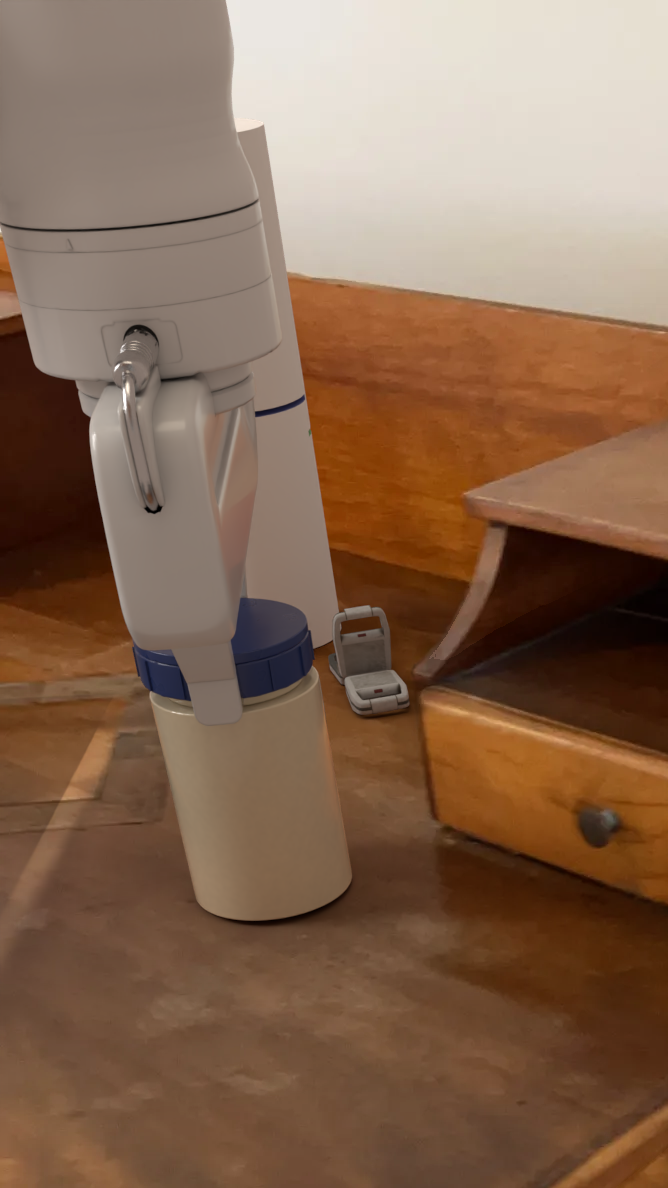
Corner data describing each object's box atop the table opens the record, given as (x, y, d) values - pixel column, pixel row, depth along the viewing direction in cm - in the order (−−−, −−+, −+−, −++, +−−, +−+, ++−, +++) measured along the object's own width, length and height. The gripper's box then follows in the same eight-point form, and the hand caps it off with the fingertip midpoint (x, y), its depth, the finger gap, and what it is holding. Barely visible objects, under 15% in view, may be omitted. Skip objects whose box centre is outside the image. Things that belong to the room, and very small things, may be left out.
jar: (204, 933, 71) (147, 688, 65) (188, 866, 76) (134, 633, 70) (365, 903, 73) (325, 661, 66) (338, 839, 78) (299, 609, 72)
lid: (327, 640, 72) (321, 596, 71) (294, 702, 66) (287, 656, 65) (166, 640, 72) (157, 598, 71) (120, 703, 66) (110, 657, 65)
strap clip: (414, 711, 89) (404, 631, 87) (357, 720, 89) (345, 640, 86) (379, 655, 96) (368, 578, 93) (325, 663, 95) (313, 586, 92)
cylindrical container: (195, 652, 97) (87, 138, 81) (248, 607, 102) (156, 118, 87) (312, 660, 95) (225, 138, 80) (359, 614, 101) (287, 117, 85)
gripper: (222, 361, 53) (300, 777, 61) (251, 245, 69) (310, 588, 77) (14, 377, 52) (122, 795, 61) (92, 257, 68) (169, 601, 77)
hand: (227, 678), depth 69 cm, fingers closed on lid, 7 cm apart
